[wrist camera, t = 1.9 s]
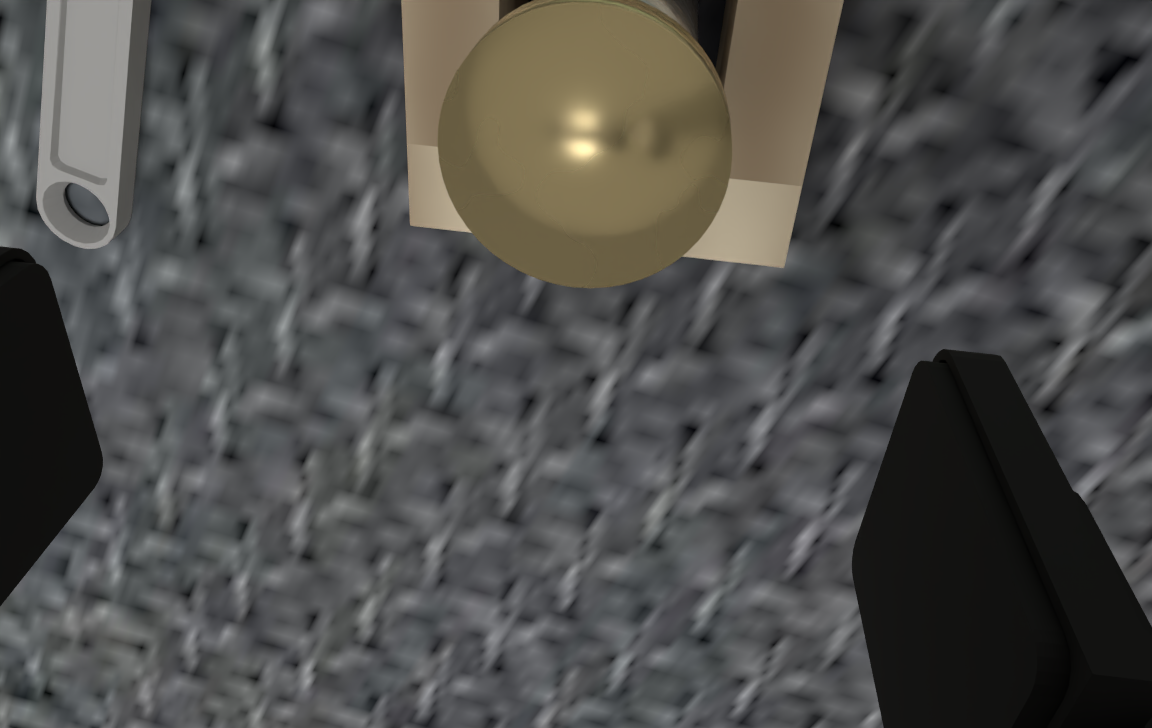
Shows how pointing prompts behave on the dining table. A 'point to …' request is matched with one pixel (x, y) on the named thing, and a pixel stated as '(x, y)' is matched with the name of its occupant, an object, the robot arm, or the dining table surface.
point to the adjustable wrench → (91, 112)
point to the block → (751, 84)
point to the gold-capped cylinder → (588, 139)
